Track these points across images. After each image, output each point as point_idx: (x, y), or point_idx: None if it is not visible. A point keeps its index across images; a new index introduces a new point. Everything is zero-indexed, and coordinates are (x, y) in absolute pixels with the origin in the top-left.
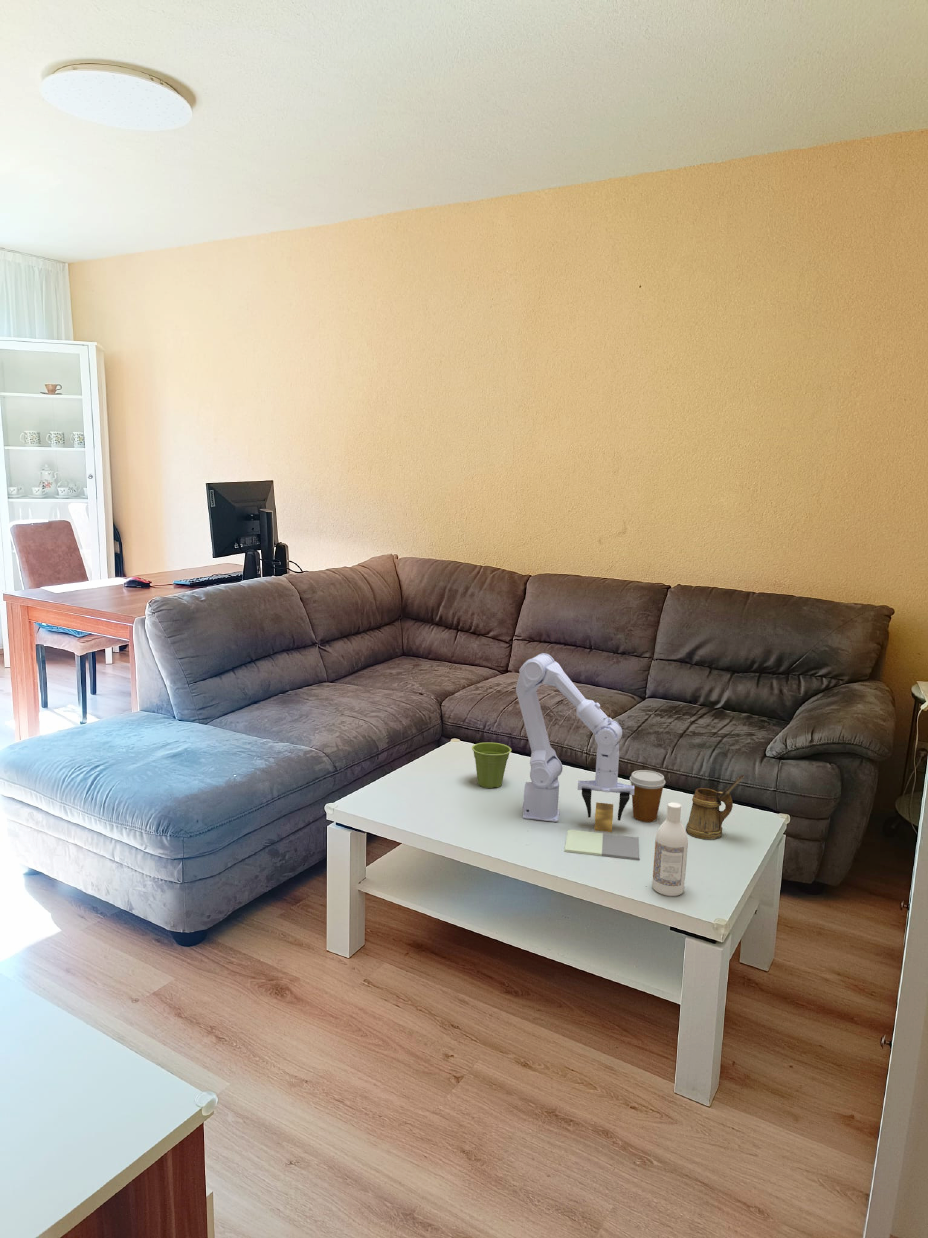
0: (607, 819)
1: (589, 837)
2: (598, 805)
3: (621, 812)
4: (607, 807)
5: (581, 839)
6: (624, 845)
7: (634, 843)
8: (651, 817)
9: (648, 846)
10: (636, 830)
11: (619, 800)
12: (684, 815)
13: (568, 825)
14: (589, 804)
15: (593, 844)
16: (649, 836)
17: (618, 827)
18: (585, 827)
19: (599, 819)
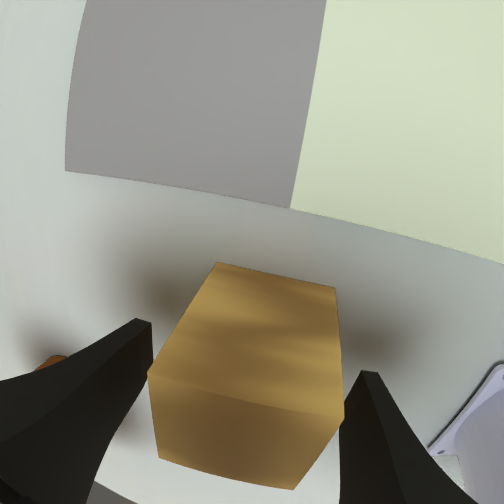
0: (228, 324)
1: (413, 129)
2: (288, 463)
3: (87, 350)
4: (205, 432)
5: (472, 100)
6: (155, 19)
7: (91, 72)
8: (43, 366)
9: (42, 93)
10: (87, 287)
11: (93, 464)
12: (6, 372)
13: (462, 342)
14: (402, 462)
15: (395, 9)
16: (36, 219)
17: (172, 326)
18: (379, 327)
19: (301, 335)
